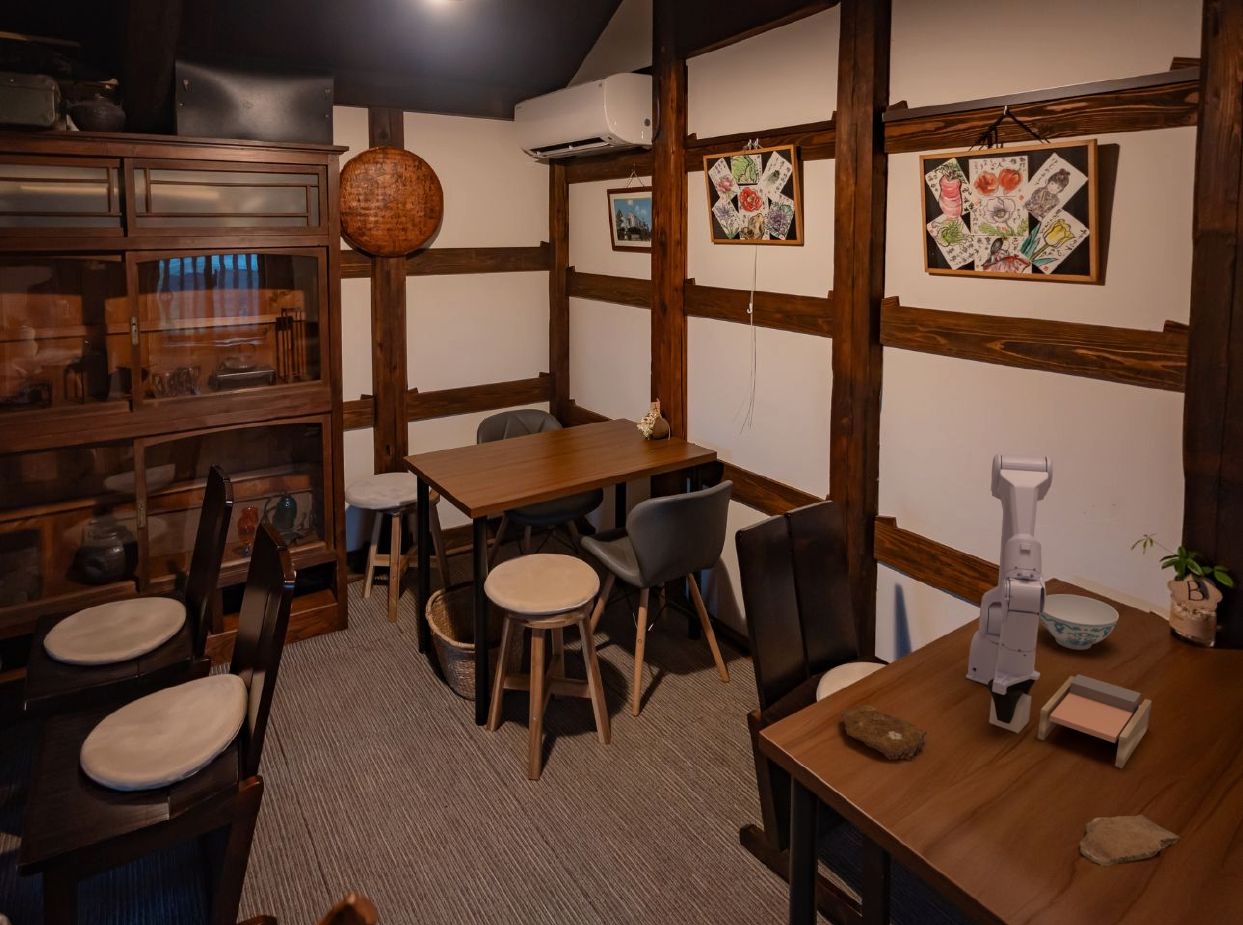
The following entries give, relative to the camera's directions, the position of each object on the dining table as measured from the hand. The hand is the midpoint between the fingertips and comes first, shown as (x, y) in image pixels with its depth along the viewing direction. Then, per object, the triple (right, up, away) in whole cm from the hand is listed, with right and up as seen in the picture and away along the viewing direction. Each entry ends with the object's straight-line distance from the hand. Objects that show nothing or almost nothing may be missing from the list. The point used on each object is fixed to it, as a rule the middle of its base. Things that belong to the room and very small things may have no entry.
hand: (1009, 714), depth 153 cm
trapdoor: (+12, +2, -5) cm, 13 cm away
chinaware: (+26, +6, +29) cm, 40 cm away
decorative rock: (-24, -3, -4) cm, 25 cm away
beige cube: (0, -1, 0) cm, 2 cm away
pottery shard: (+3, -10, -30) cm, 32 cm away
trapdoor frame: (+13, -2, -4) cm, 13 cm away
